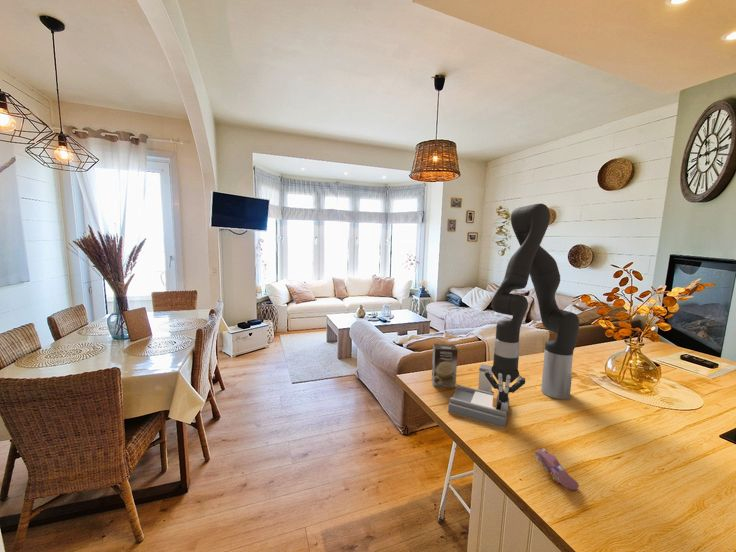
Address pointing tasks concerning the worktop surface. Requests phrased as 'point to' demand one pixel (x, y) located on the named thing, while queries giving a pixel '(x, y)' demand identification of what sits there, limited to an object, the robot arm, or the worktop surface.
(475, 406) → the grey sliding panel box
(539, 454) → the pink curved piece
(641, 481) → the worktop surface
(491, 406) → the shutter
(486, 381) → the plug
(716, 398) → the worktop surface
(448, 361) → the coffee box
